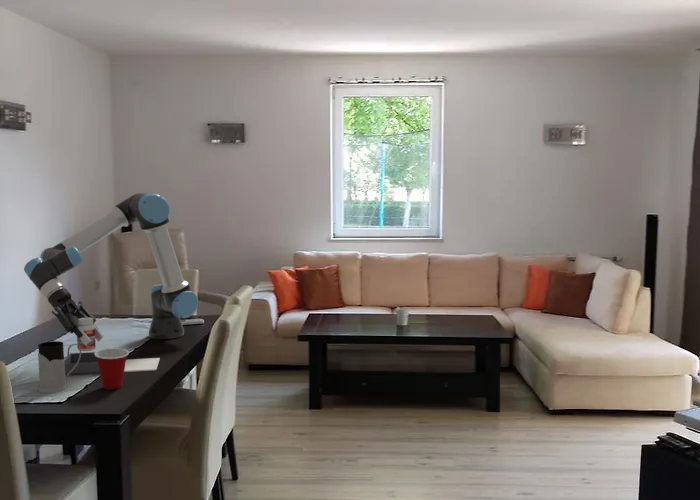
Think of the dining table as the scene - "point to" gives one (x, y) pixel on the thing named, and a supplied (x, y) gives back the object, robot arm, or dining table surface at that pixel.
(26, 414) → the dining table surface
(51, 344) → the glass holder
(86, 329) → the pill bottle
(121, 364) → the plastic cup
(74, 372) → the mailer box
